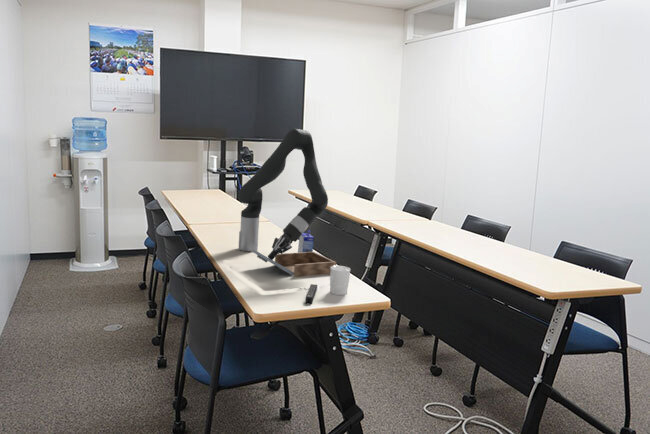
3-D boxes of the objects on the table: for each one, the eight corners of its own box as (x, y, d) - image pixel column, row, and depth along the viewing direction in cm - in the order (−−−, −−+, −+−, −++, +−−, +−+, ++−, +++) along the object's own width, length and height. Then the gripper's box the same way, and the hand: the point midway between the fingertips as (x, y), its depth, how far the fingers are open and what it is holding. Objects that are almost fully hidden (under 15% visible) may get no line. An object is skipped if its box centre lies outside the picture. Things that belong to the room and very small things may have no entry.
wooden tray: (312, 265, 247) (313, 251, 246) (335, 276, 230) (336, 262, 229) (274, 268, 237) (275, 254, 236) (295, 280, 220) (295, 265, 219)
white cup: (347, 290, 211) (349, 266, 210) (349, 296, 204) (351, 271, 202) (328, 289, 211) (330, 265, 210) (328, 295, 203) (330, 270, 202)
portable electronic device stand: (310, 290, 209) (311, 283, 208) (316, 291, 209) (317, 283, 208) (304, 304, 191) (305, 296, 191) (311, 305, 191) (312, 297, 190)
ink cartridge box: (312, 261, 254) (314, 232, 251) (301, 261, 252) (303, 232, 250) (307, 256, 263) (309, 228, 261) (297, 256, 261) (299, 228, 259)
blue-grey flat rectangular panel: (277, 263, 235) (253, 249, 228) (294, 273, 221) (269, 258, 214) (275, 267, 235) (250, 253, 228) (292, 277, 221) (267, 262, 214)
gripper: (283, 220, 231) (257, 249, 227) (298, 225, 220) (271, 256, 216) (293, 231, 235) (268, 260, 231) (308, 236, 224) (282, 267, 220)
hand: (269, 258), depth 224 cm, fingers closed
